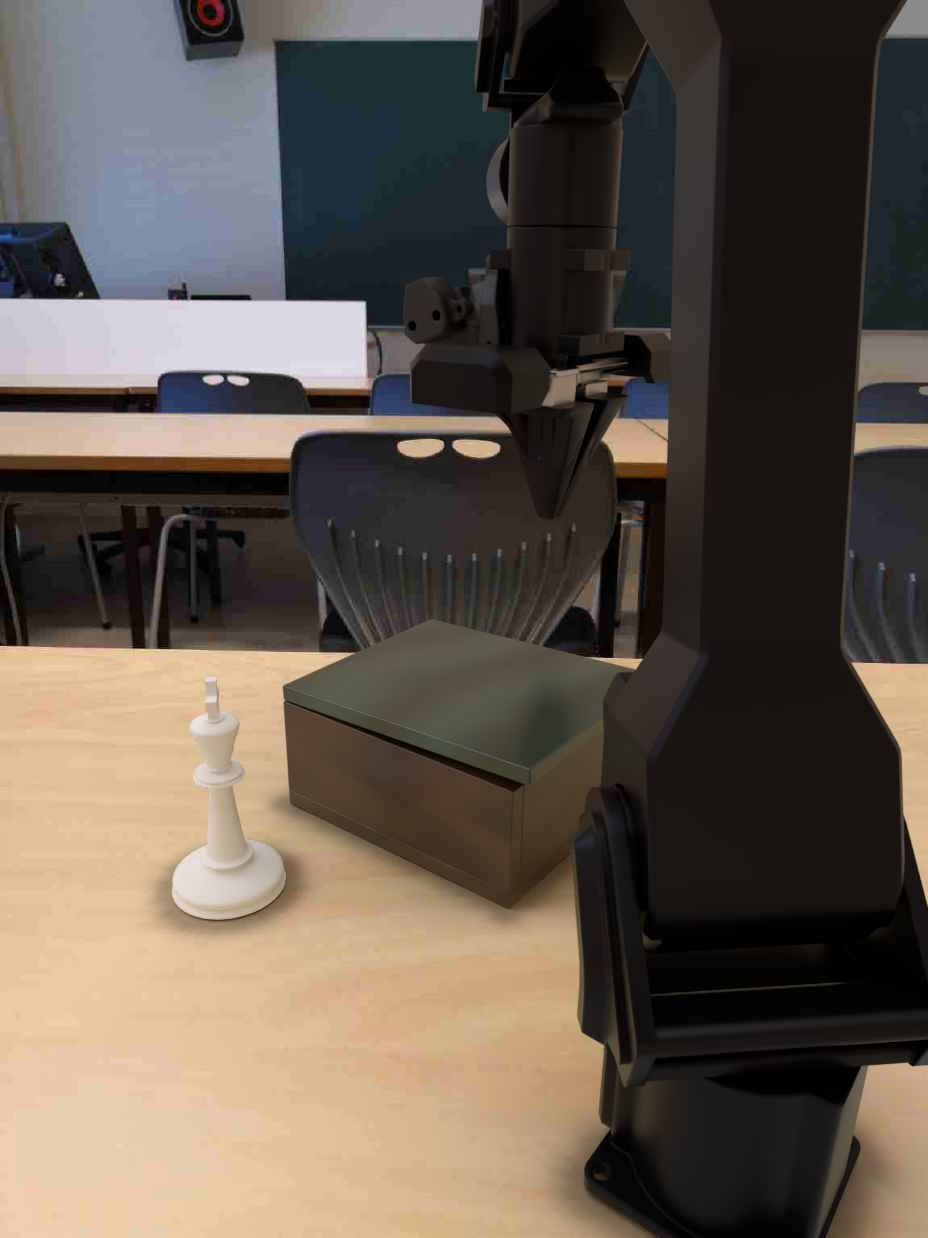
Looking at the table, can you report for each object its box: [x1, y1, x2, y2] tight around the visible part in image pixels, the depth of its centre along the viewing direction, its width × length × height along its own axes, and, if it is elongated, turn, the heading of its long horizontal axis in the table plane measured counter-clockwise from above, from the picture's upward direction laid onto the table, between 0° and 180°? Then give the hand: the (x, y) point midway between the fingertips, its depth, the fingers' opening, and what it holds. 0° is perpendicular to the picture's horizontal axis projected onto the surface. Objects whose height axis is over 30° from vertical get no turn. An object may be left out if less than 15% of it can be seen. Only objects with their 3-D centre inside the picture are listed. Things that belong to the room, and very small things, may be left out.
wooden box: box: [283, 700, 604, 909], centre depth 47 cm, size 14×12×6 cm
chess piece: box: [171, 676, 287, 920], centre depth 40 cm, size 5×5×10 cm
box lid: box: [282, 618, 636, 786], centre depth 46 cm, size 14×12×1 cm
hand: (548, 517), depth 55 cm, fingers closed
